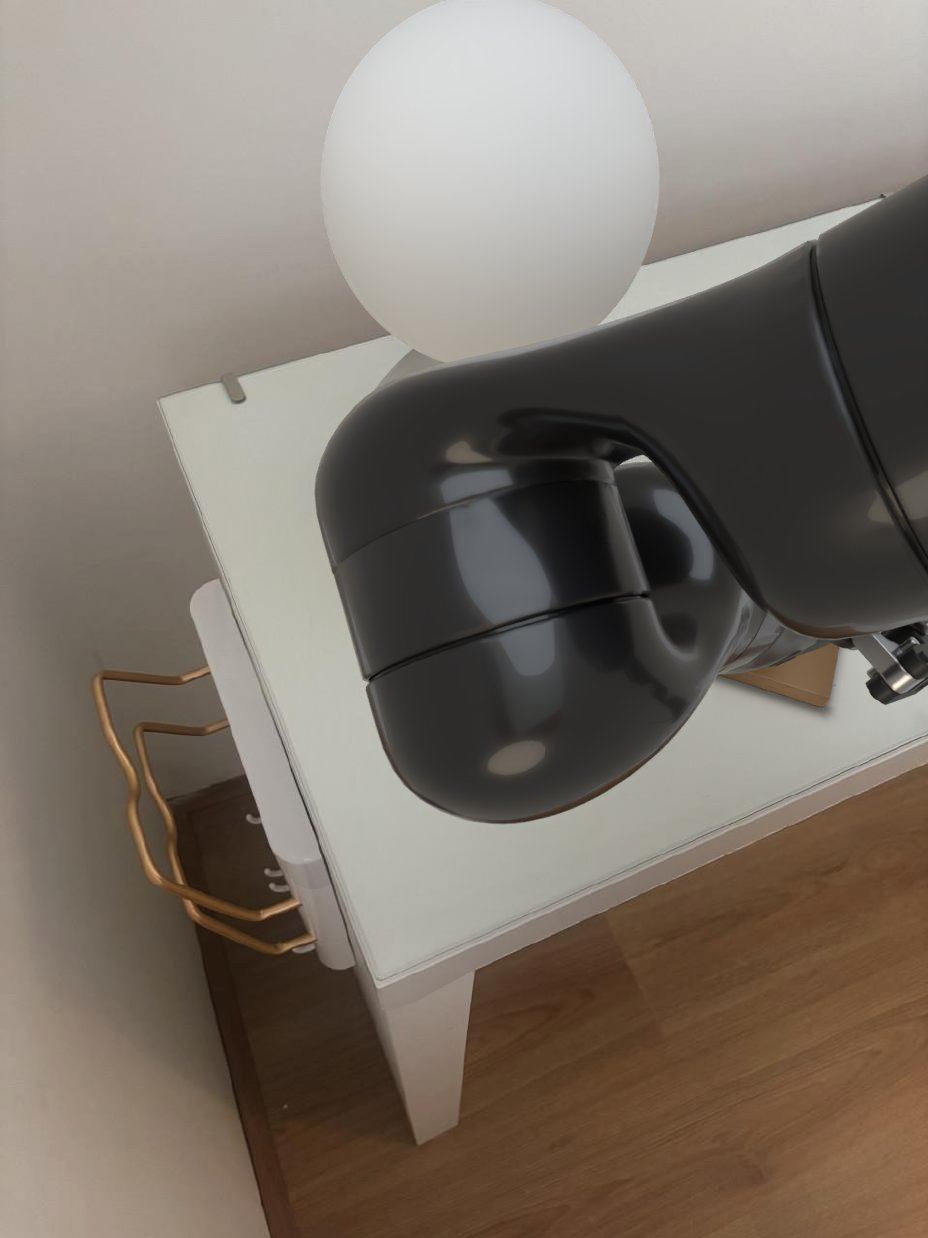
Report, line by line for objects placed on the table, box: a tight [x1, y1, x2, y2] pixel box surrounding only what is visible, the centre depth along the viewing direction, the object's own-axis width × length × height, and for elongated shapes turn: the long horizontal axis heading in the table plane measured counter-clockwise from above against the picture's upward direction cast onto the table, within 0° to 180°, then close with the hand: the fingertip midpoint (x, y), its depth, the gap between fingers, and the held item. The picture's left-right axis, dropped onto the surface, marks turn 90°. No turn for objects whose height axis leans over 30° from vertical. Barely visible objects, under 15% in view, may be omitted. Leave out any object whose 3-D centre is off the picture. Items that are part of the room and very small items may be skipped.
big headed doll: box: [320, 0, 660, 390], centre depth 57 cm, size 20×23×35 cm
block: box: [719, 643, 840, 708], centre depth 62 cm, size 12×12×10 cm
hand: (856, 558), depth 48 cm, fingers open, 8 cm apart
